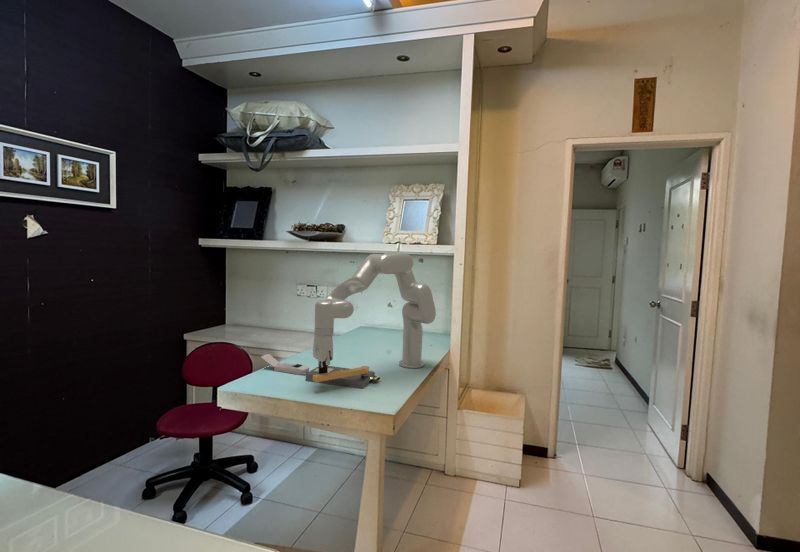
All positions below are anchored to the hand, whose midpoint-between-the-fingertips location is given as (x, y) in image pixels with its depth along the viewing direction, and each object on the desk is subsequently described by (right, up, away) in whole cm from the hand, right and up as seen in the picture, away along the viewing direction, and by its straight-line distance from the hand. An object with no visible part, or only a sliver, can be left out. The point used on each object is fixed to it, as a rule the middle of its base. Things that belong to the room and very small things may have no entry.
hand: (322, 376), depth 163 cm
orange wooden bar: (+8, -1, +2) cm, 8 cm away
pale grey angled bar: (-21, -3, +20) cm, 29 cm away
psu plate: (+6, -4, +11) cm, 13 cm away
